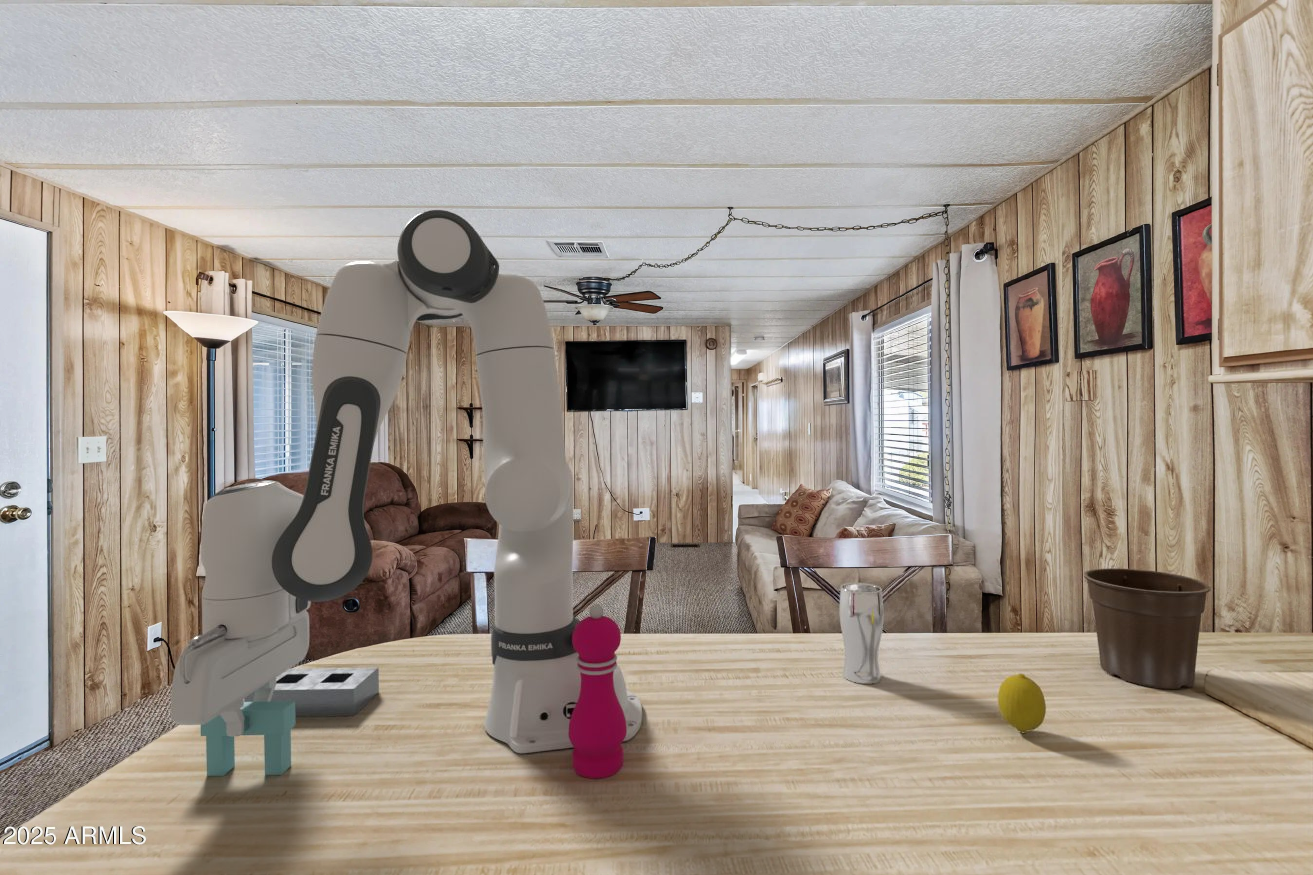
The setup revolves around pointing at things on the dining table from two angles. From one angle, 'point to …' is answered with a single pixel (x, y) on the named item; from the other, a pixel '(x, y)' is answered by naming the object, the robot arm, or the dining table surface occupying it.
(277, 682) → the slotted base block
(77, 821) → the dining table surface
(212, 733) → the teal arch block
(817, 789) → the dining table surface
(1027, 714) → the lemon
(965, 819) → the dining table surface
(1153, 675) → the plant pot
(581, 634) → the pepper mill
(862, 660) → the beer glass
